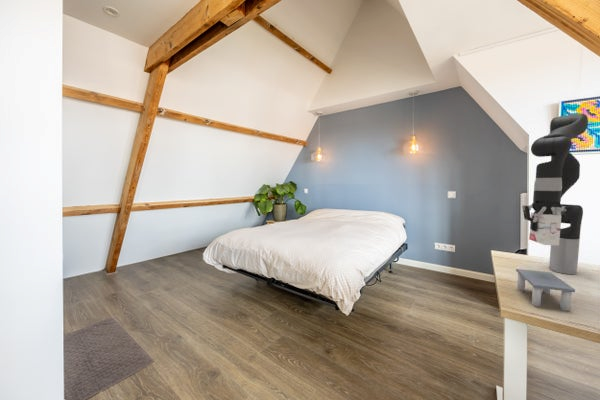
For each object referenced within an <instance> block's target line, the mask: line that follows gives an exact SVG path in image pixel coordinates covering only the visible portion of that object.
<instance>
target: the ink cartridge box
mask: <svg viewBox="0 0 600 400" xmlns="http://www.w3.org/2000/svg"><path fill="white" fill-rule="evenodd" d="M555 209H556V211H557V215H553V214H541V215H540V218H539V219H538V220H537V231H536V232H535V231H532V230H531V229H530V228H529V237H528V238H529V239H528V240H530V241H532V242H536V243H538V244H541V245H543V246H551V245H559V240H560V229H562V228H561V225H562V223H561V208H560V207H555ZM533 213H534V211H532V212H530V216H531V217H532V215H533ZM535 214H537V213H535ZM529 222H530V221H529ZM530 223H531V222H530Z"/></svg>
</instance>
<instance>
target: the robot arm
mask: <svg viewBox="0 0 600 400" xmlns="http://www.w3.org/2000/svg"><path fill="white" fill-rule="evenodd" d="M588 118H589V117H588V115H587V114H585V113H574V114H568V115H560V116H556V117H555V116H554V117H553V118H552V119H551V121H550V125H549V133H548V134H547V135H544V136H541V137H539V138H537V139H536V140H534V142H533V143H532V144H531V147H530V151H531V154H532V155H533V156H535V157H539V158H540V157H541V158H542V157H543V158H544V157H550V161H545V162H541V163H538V164H536V168H535V169H536V170H535V180H534V186H533V198H532V201H533V202H532V204H529V205H522V212H523V218H524V220H525V221H528V222H531V223H530V224H529V225H530V226H529V230H530V229H531V230H532V231H535V232H536V231H537V220H538V219H539V218H540V215H541V214H553V215H557V211H556V209H555V207H560V208H561V224H570V225H569V226H567V227H563V228H560V240H559V245H550V250H549V252H550V253H549V262H548V263H549V265H548V269H549V270H550V271H552V272H557V273H560V274H567V275H576V274H577V273H578V262H579V252H580V237H581V228H582V221H583V214H584V208H583V206H582V205H579V204H564V203H561V200H562V197H563V196H564V195H565V193H567V191H569V190H571V188H572V187H573V186H574V185H575V184H576V183H577V182H578V180H579V179H580V176H581V175H580V174H581V173H580V172H581V165H580V161H579V160H578V159H577V158H576V157H575V156H574V155H573V154H572V153H571V152H570V151H571V148H572V145H573V143H572V140H573V139H574V138H576V137H577V138H578V136H580V135H582V134H584V133H585V132H586V131H587V129H588V125H589V119H588ZM532 209H533V212H534V213H533V215H532V217H531V212H530V211H531V210H532ZM535 213H537V214H535Z"/></svg>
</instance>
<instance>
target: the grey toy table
mask: <svg viewBox="0 0 600 400" xmlns="http://www.w3.org/2000/svg"><path fill="white" fill-rule="evenodd" d="M515 272H517V283H516V284H517V287H516V289H517V291H520V292H521V291H523V292H525V291H526V282H527V283H529V284H530V285H531V286H532V291H531V292H532V293H531V294H532V295H531V305H532V306H533V307H536V308H541V306H542V305H541V304H542V303H541V302H542V293H543V294H546V295H550V294H551V291H552V290H553V291H558V292H559V291H560V304H559V306H560V307H559V308H560V309H561V310H562V311H566V312H571V303H572V302H571V301H572V293H576V288H574V287H572V286H571V285H569V284H568V283H566V282H565V281H563V279H561V278H559V277H558V276H556V275H555V274H554V273H552V272H550V271H545V270H544V271H543V270H534V269H533V270H532V269H524V268H515Z"/></svg>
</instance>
